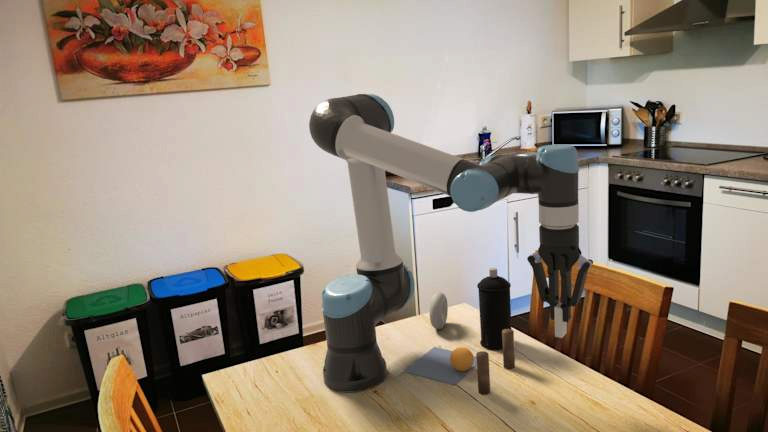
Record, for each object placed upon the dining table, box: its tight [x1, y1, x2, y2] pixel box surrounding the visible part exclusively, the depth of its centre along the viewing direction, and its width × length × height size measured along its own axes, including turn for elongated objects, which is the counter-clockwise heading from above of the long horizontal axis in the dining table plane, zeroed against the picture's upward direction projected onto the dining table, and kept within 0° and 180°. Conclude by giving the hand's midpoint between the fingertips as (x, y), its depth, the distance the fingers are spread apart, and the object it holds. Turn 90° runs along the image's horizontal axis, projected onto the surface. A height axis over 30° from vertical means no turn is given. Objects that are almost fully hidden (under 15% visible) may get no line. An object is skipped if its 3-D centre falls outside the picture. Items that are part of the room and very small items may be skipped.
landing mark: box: [402, 346, 477, 386], centre depth 145 cm, size 14×14×1 cm
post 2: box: [502, 328, 516, 370], centre depth 141 cm, size 3×3×9 cm
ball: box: [450, 346, 474, 371], centre depth 142 cm, size 6×6×6 cm
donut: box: [429, 291, 449, 330], centre depth 165 cm, size 10×4×10 cm, turn 161°
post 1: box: [475, 350, 491, 396], centre depth 131 cm, size 3×3×9 cm
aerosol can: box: [476, 267, 512, 351], centre depth 152 cm, size 8×8×20 cm
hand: (560, 334), depth 125 cm, fingers closed
